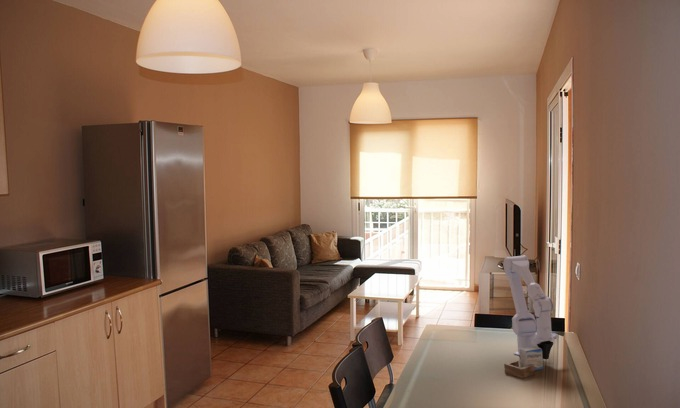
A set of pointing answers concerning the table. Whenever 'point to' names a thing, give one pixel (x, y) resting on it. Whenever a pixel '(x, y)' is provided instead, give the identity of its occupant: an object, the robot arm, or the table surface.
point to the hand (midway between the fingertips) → (545, 358)
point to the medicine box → (531, 357)
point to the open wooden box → (518, 369)
